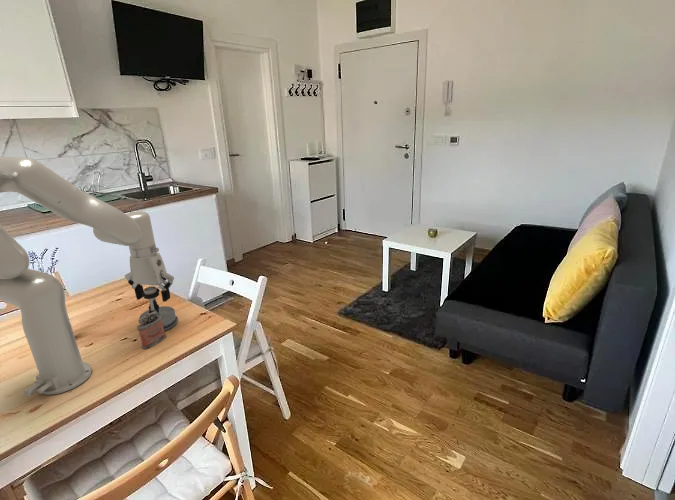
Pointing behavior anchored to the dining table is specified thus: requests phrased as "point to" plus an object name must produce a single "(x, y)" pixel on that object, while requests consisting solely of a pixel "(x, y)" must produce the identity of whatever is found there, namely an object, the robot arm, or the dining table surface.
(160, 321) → the lighter
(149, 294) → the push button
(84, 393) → the dining table surface
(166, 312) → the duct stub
